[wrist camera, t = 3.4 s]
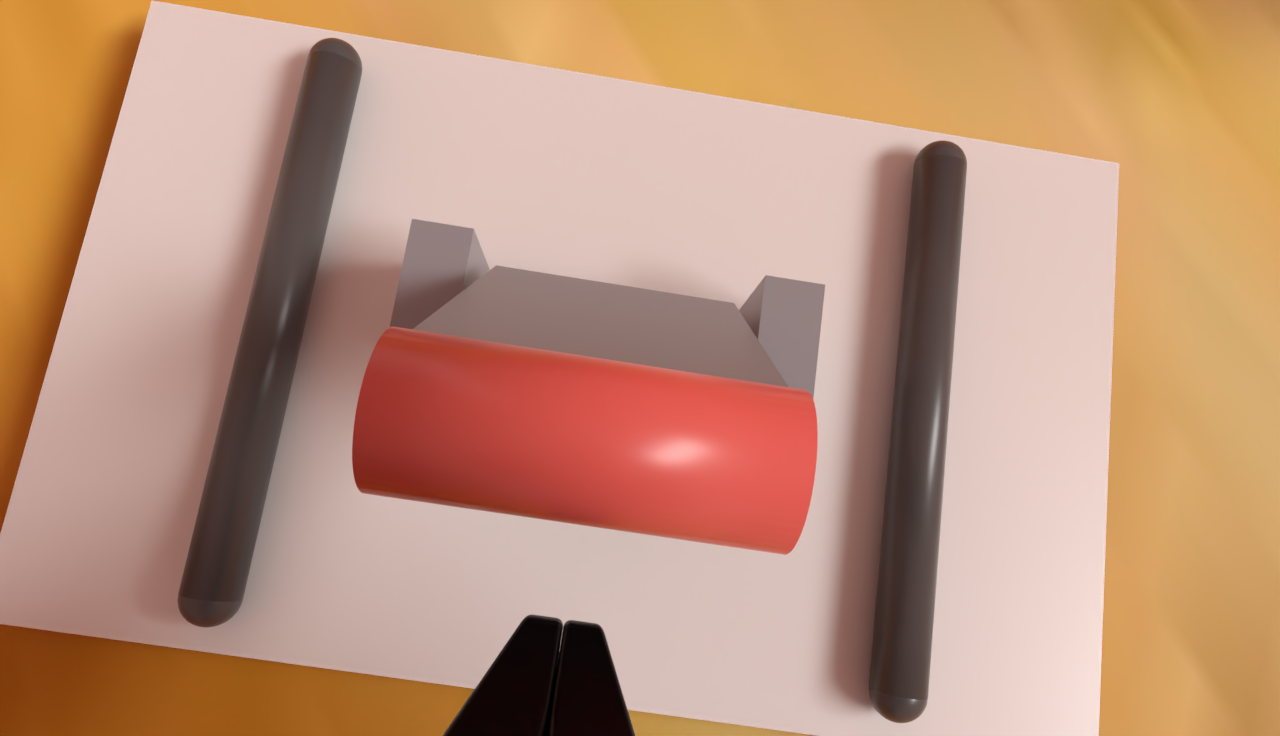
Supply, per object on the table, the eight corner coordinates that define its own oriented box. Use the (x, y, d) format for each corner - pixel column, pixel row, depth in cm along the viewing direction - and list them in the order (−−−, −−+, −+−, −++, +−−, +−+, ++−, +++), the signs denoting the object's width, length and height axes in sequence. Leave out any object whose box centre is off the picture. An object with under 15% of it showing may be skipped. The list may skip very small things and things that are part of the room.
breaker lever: (715, 373, 14) (790, 586, 7) (492, 339, 14) (346, 522, 7) (732, 286, 14) (830, 419, 7) (503, 250, 14) (359, 348, 7)
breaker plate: (1059, 754, 16) (1204, 827, 12) (22, 612, 15) (-161, 644, 11) (1084, 186, 18) (1214, 101, 14) (181, 35, 17) (71, -96, 14)
